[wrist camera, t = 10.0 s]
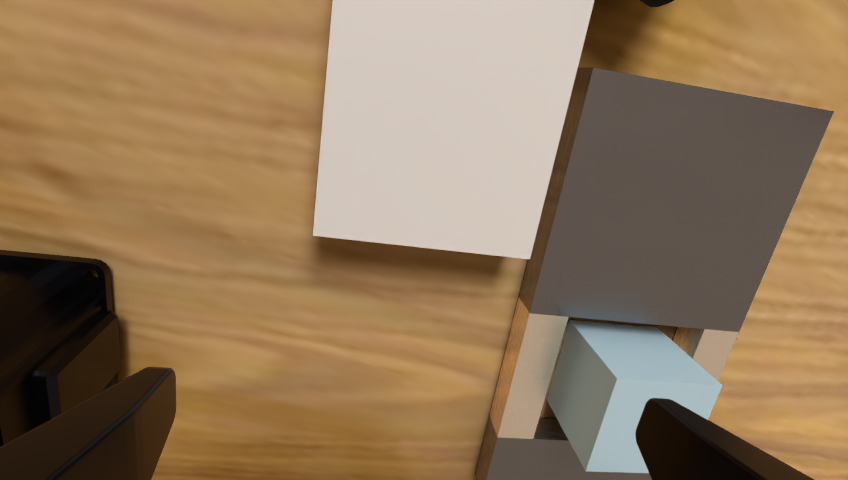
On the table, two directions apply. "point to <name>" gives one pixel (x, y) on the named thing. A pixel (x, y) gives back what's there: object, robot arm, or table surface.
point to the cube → (620, 389)
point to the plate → (645, 239)
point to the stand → (445, 120)
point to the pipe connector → (656, 2)
